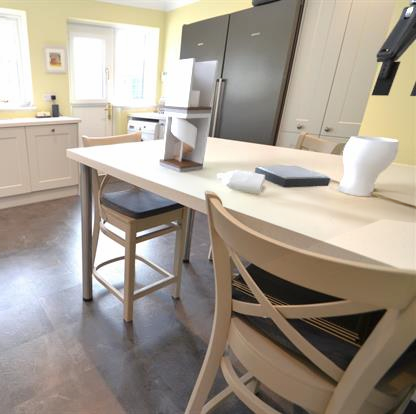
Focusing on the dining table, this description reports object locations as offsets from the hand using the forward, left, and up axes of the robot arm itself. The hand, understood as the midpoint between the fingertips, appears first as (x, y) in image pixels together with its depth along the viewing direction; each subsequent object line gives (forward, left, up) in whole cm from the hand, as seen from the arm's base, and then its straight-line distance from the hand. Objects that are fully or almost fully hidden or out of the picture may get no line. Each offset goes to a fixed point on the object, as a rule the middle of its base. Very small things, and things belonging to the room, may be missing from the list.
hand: (399, 96), depth 63 cm
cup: (-6, -7, -26) cm, 27 cm away
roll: (+27, -12, -26) cm, 39 cm away
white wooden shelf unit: (+33, -39, -26) cm, 57 cm away
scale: (+4, -20, -26) cm, 33 cm away
